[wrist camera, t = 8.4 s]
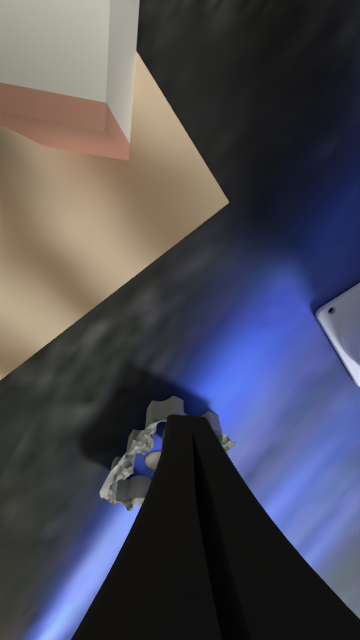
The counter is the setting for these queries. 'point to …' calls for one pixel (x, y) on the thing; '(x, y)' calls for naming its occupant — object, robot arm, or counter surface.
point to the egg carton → (142, 441)
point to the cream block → (69, 73)
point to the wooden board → (92, 219)
